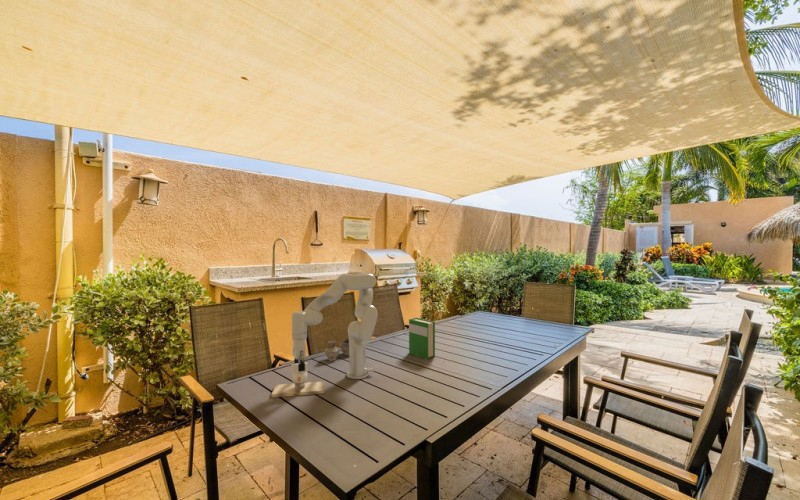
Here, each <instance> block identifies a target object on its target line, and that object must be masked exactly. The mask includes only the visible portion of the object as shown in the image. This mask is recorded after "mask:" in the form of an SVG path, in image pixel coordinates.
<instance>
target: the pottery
mask: <svg viewBox="0 0 800 500" xmlns="http://www.w3.org/2000/svg"><path fill="white" fill-rule="evenodd" d="M342 341H343V342H341V343H340V344H339V348H338V347H337V346H336V344H337V341H336V340H329V341H328V342H327V344H328V346H327V348H325V349H324V354H325V356H326V357H327V361H330V362H333V361H337V358H338V356H339V354H340V351H341V352H342V354H343V355H344V356H349V337H344V338H343V339H342Z"/></svg>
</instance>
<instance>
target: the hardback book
mask: <svg viewBox="0 0 800 500" xmlns="http://www.w3.org/2000/svg"><path fill="white" fill-rule="evenodd" d="M408 353H409V354H411V355H414V356H417V357H419V356H420V357H419V358H422V357H423V359H425V358H426V359H425V360H429V358H435V357H436V321H434V320H433V321H432V320H429V319H424V318H419V317H413V318H409V319H408Z"/></svg>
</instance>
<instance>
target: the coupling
mask: <svg viewBox="0 0 800 500" xmlns="http://www.w3.org/2000/svg"><path fill="white" fill-rule="evenodd" d="M298 364H299V363H296V364H294V363H291V382H292V384H293V383H303V382H305V383H306V382H307V381H308V370H309V369H308V367H309V366H308V362H305V371H301V372H299V371H298Z"/></svg>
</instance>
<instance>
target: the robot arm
mask: <svg viewBox="0 0 800 500" xmlns="http://www.w3.org/2000/svg"><path fill="white" fill-rule="evenodd" d="M376 284H377V277H376V276H375V275H374V274H372V273H367V272H357V273H355V274H349V273H343V274H340V275H339V276H338V277H337V278H336V280H334V281H333V283H332V284H331V285H330V286H329V287H328V288H327V289H326V290H325V291H324V292H323V293H321V294H320V295H319V296H317V297H316V298H314V299H313V300H312V301H310V303H309V304H308V305H307V306H306V307H305V308H304V310H302V311H301V310H298V311H294V312H293V313H292V314H291V339H292V356H293V358H294V363H293V364H296V363H299V364H298V371H299V372H301V371H305V363H306V362H305V360H306V359H305V358H306V355H307V354H306V339H307V338H308V326H317V325H319V324H321V323H322V322H323V320H324V316H323V314H322V312H320V311H322V310H323V309H324V308H325V307H327V306H331V305H334V304H336V303H337V302H338V301H340V299H341V298H342V297H343V295H344V294H346V292H347V291H358V297H357V301H356V305H355V309H354V317H356V318H357V319H359V320H361V321H359V320H354V321H351V322H350V323H349V324H348V327H347V338H349V355H348V362H349V363H348V364H349V368H348V369H349V371H347V372H346V377H347V378H348V379H351V380H362V379H365V378H368V375H369V373H374V368H372V367H367V366H366V364H367V363H366V362H367V361H366V359H367V356H366V347H367V346H366V342H368V341H369V340H371V339H372V337H373V335H374V332H375V329H376V328H375V327H376V324H377V320H378V310H377V308H376V306H374V305H373V304H372V303H373V299H374V290H373V288H374V286H376Z"/></svg>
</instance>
